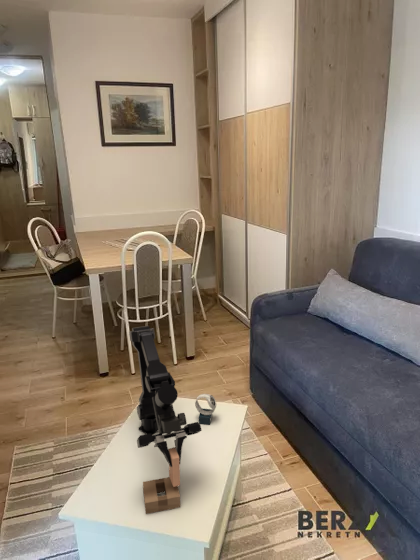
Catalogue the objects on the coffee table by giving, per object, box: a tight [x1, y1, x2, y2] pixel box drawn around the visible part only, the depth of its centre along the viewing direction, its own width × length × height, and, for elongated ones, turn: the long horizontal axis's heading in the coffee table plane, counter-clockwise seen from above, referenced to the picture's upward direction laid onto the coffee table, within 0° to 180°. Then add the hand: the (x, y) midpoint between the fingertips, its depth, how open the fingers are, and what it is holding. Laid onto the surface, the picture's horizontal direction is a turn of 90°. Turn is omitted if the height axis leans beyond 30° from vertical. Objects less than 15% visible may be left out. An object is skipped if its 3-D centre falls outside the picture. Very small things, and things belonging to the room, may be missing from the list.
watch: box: [194, 393, 217, 426], centre depth 155 cm, size 6×8×11 cm
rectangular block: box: [168, 446, 181, 487], centre depth 119 cm, size 4×2×10 cm, turn 21°
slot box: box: [142, 476, 181, 515], centre depth 121 cm, size 8×10×4 cm
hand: (175, 465), depth 118 cm, fingers closed on rectangular block, 2 cm apart
